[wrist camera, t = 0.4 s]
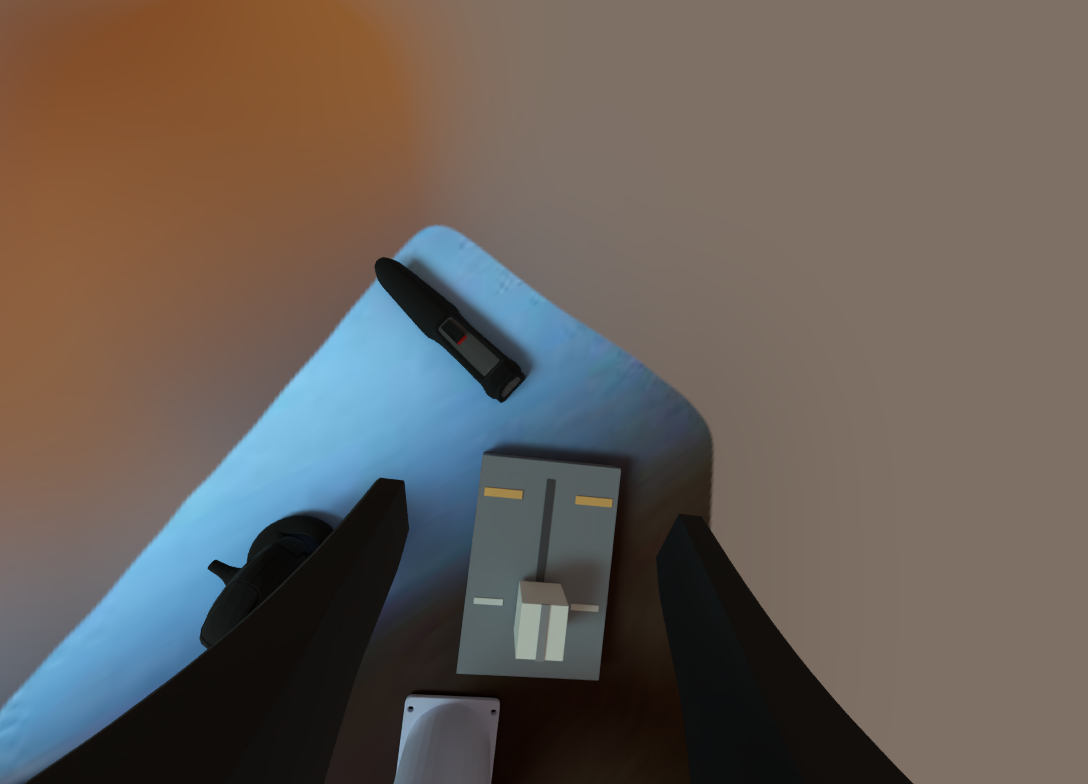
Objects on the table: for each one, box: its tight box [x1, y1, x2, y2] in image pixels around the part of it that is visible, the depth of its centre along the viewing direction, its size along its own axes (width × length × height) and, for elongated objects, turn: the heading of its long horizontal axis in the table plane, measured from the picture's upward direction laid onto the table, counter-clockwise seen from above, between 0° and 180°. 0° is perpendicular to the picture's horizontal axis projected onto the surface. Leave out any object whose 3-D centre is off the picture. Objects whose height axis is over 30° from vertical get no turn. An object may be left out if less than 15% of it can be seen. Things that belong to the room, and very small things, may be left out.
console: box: [457, 452, 621, 680], centre depth 37 cm, size 18×12×2 cm, turn 173°
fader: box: [514, 581, 569, 662], centre depth 33 cm, size 4×4×4 cm
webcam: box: [200, 516, 334, 649], centre depth 31 cm, size 8×8×10 cm
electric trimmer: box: [375, 257, 525, 403], centre depth 36 cm, size 4×16×3 cm, turn 46°
